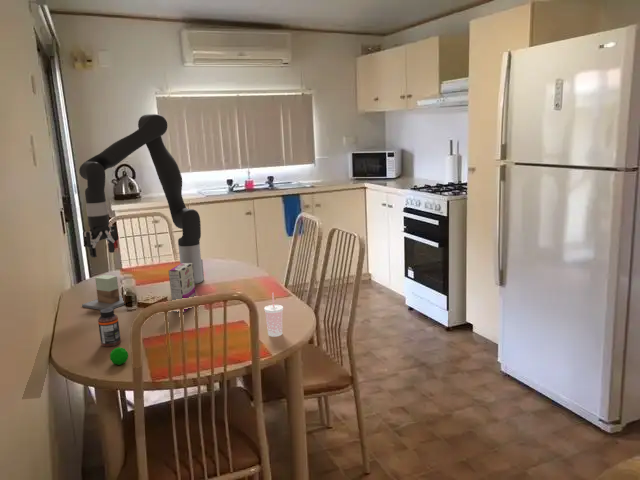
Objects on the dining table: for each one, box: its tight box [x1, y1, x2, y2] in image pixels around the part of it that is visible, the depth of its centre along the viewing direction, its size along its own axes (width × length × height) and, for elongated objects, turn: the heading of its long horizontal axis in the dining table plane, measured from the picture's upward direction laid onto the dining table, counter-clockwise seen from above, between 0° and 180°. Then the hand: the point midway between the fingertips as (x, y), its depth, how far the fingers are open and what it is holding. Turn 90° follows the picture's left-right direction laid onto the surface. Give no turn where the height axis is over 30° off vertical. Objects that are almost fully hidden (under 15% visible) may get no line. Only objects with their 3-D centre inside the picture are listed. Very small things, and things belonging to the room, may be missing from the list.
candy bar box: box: [168, 263, 197, 313], centre depth 202 cm, size 11×5×16 cm, turn 168°
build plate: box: [81, 295, 124, 311], centre depth 213 cm, size 14×14×1 cm
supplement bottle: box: [97, 308, 122, 347], centre depth 169 cm, size 6×6×11 cm
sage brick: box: [94, 274, 119, 291], centre depth 211 cm, size 4×7×5 cm, turn 63°
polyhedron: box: [109, 346, 129, 366], centre depth 155 cm, size 5×5×5 cm
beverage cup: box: [263, 292, 284, 338], centre depth 172 cm, size 6×6×14 cm
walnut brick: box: [96, 288, 120, 304], centre depth 212 cm, size 4×7×5 cm, turn 64°
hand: (103, 254), depth 209 cm, fingers open, 8 cm apart
